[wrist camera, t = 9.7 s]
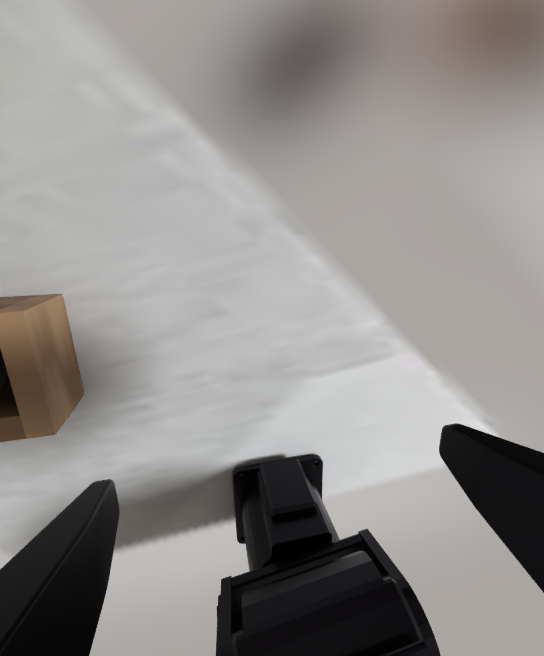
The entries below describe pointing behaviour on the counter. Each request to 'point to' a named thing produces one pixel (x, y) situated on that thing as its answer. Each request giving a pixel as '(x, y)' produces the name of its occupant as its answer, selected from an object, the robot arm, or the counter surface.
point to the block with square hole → (36, 367)
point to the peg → (3, 372)
